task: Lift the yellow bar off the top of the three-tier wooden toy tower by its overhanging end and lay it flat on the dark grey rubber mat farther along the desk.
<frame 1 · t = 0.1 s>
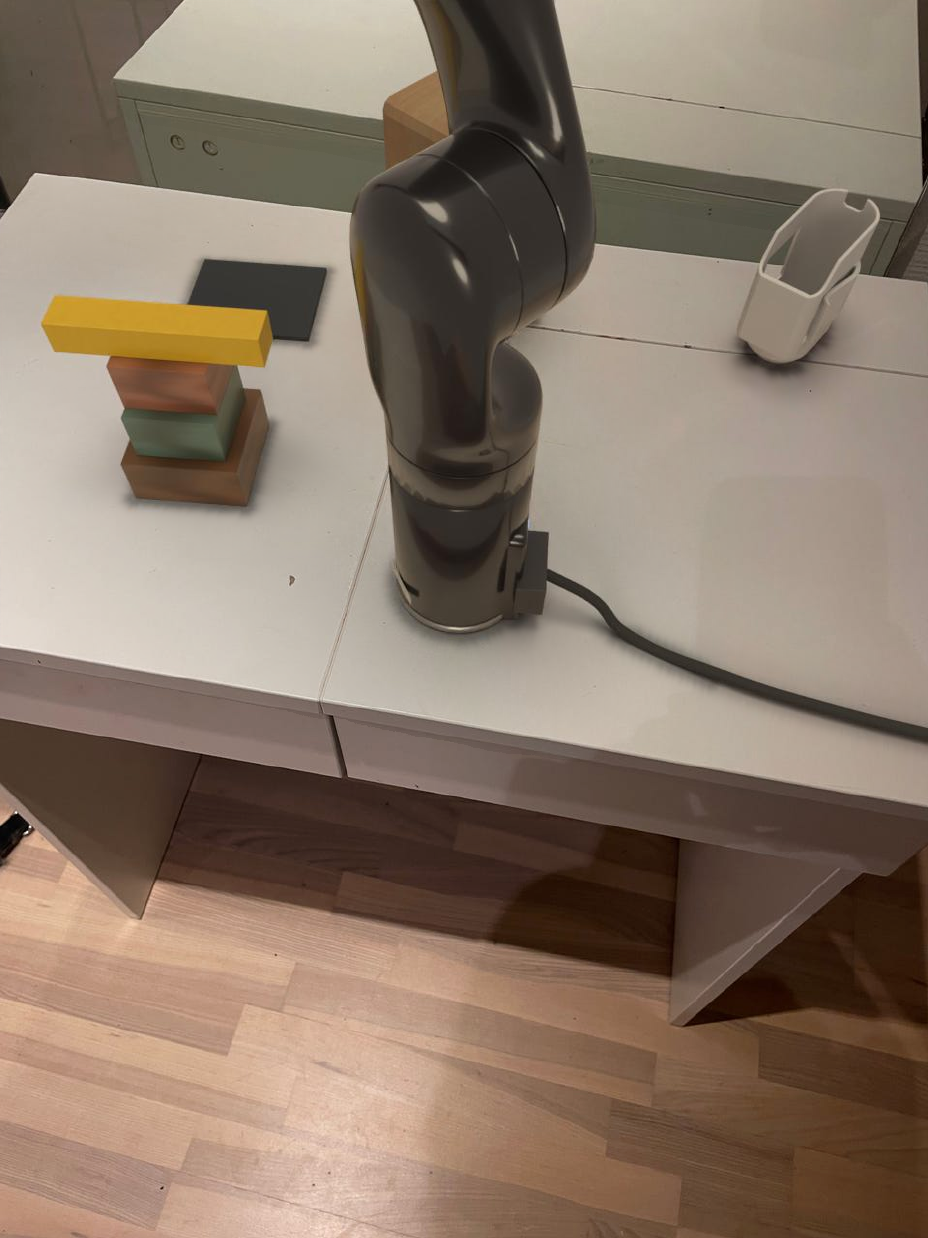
yellow bar: (164, 345, 62), point 12 cm above the table, touching toy tower
toy tower: (204, 459, 72), on the table
rubber mat: (255, 300, 83), on the table
wooden block: (465, 317, 82), on the table
cable organizer: (776, 347, 81), on the table
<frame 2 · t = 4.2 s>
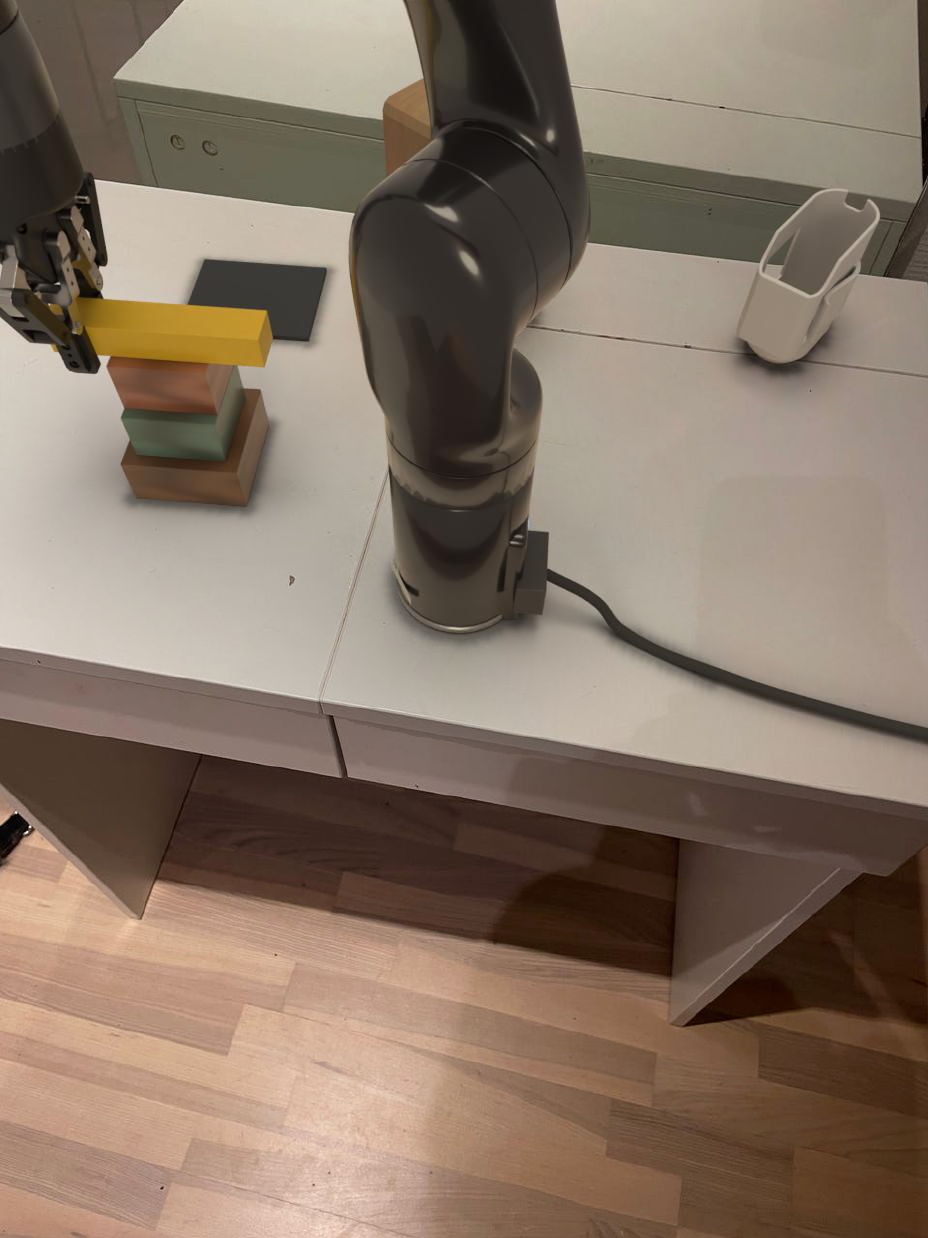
hand: (93, 351, 63), 11 cm above the table, tool pointing down, fingers closed on yellow bar, 3 cm apart
yellow bar: (164, 345, 62), point 12 cm above the table, touching gripper, toy tower
everything else where it was.
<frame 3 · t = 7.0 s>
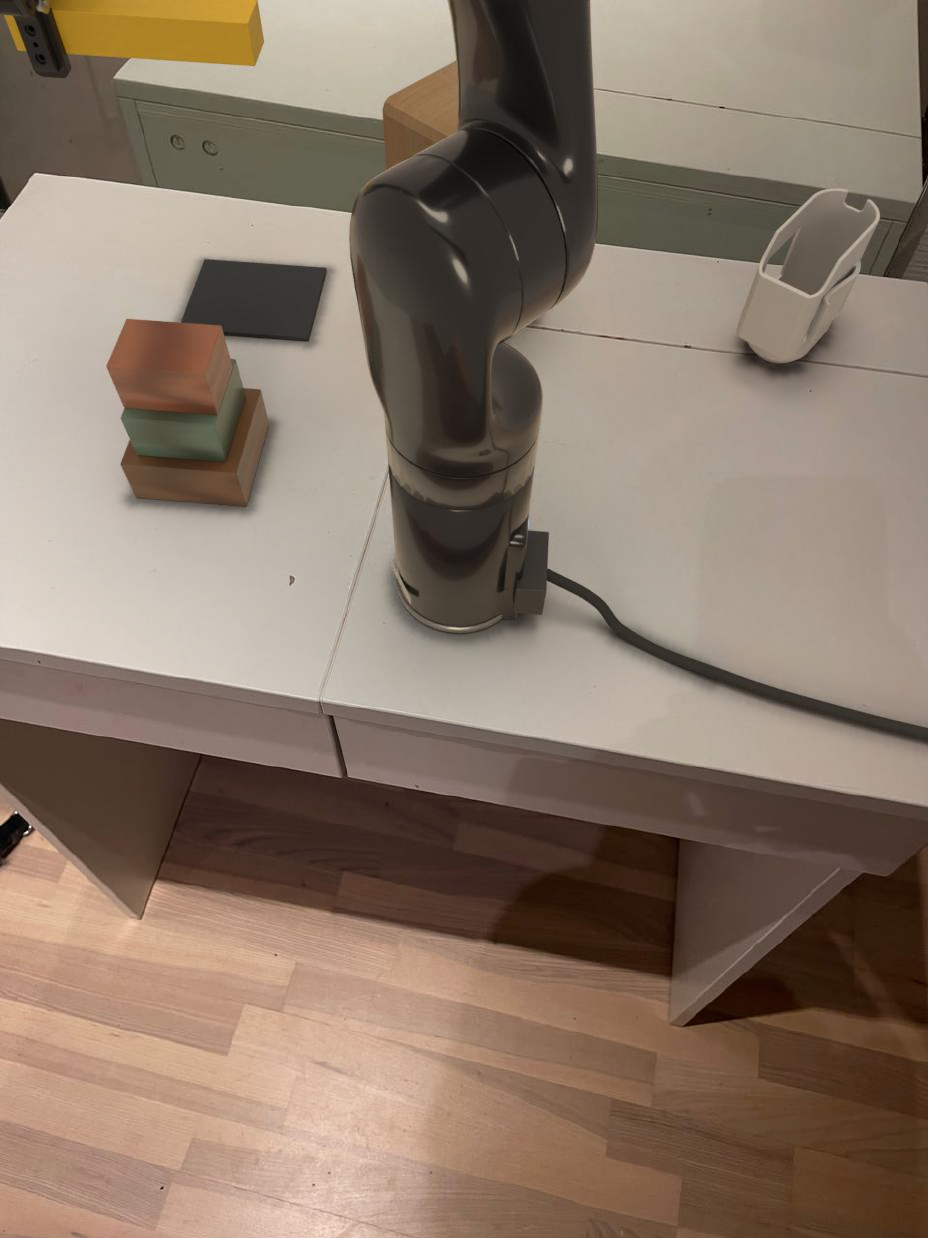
hand: (63, 57, 56), 25 cm above the table, tool pointing down, fingers closed on yellow bar, 3 cm apart
yellow bar: (142, 46, 55), point 26 cm above the table, touching gripper
everything else where it was.
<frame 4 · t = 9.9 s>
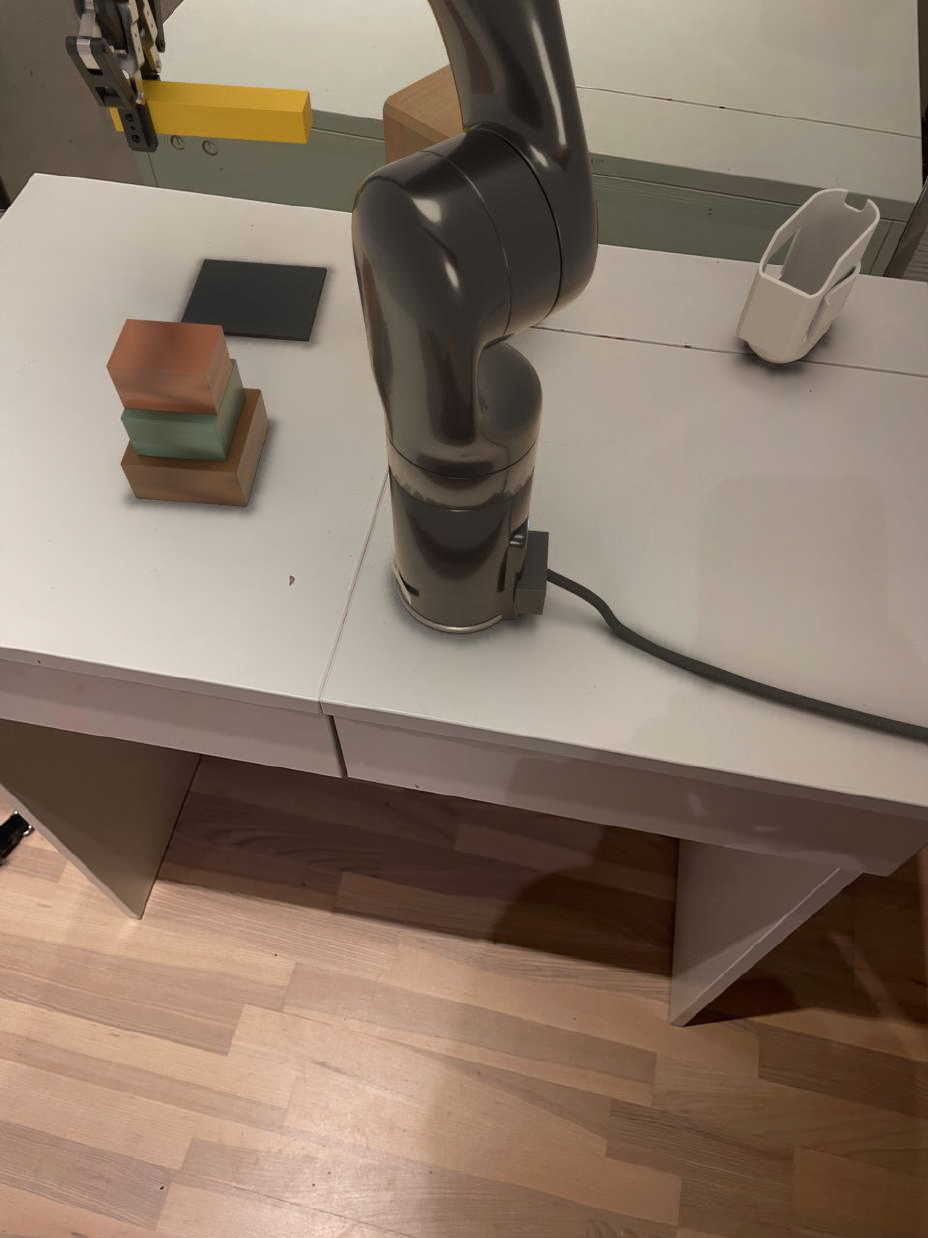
hand: (151, 134, 70), 15 cm above the table, tool pointing down, fingers closed on yellow bar, 3 cm apart
yellow bar: (215, 126, 69), point 16 cm above the table, touching gripper
everything else where it was.
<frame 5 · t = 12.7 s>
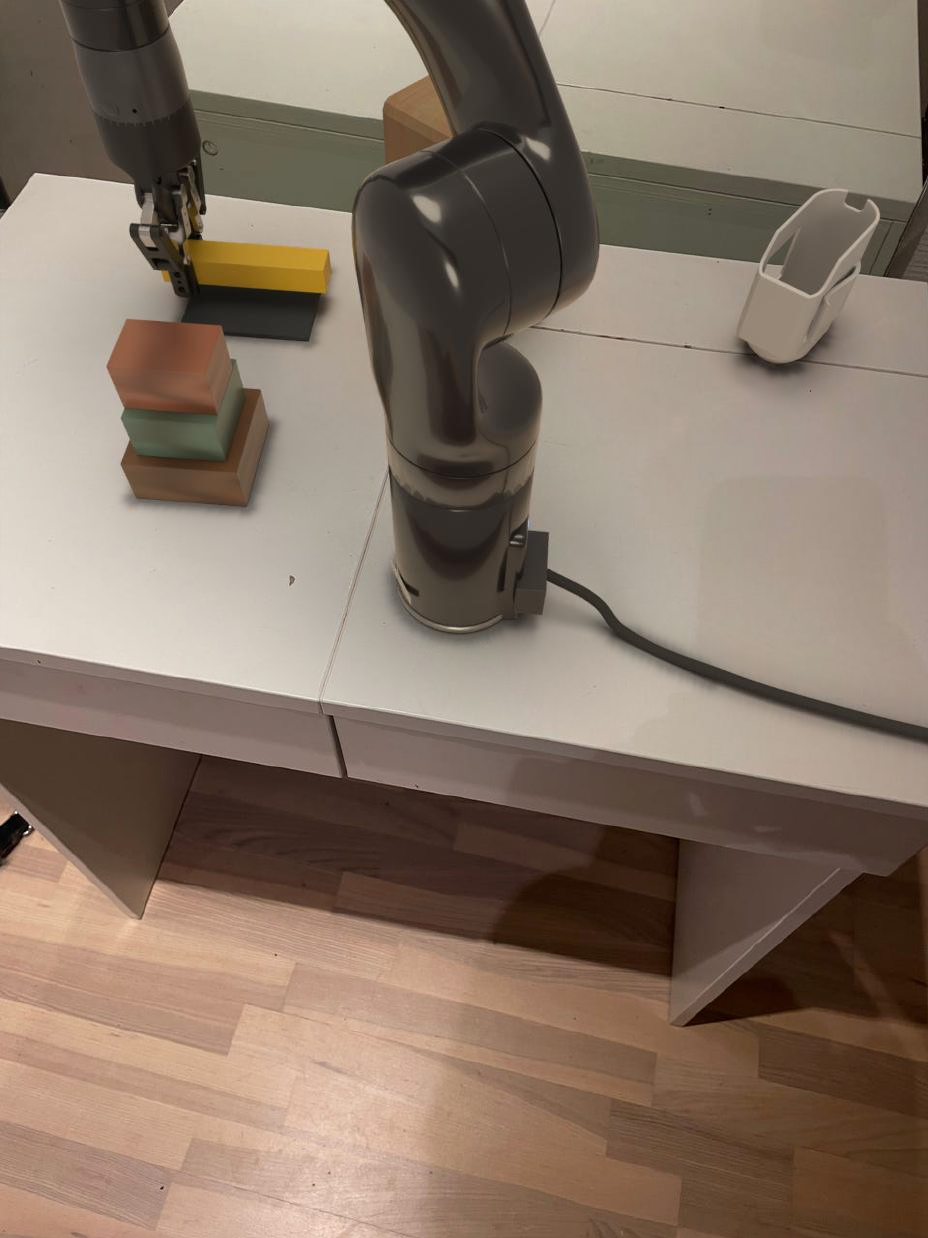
hand: (193, 281, 81), 2 cm above the table, tool pointing down, fingers closed on yellow bar, 3 cm apart
yellow bar: (248, 277, 80), point 3 cm above the table, touching gripper
everything else where it was.
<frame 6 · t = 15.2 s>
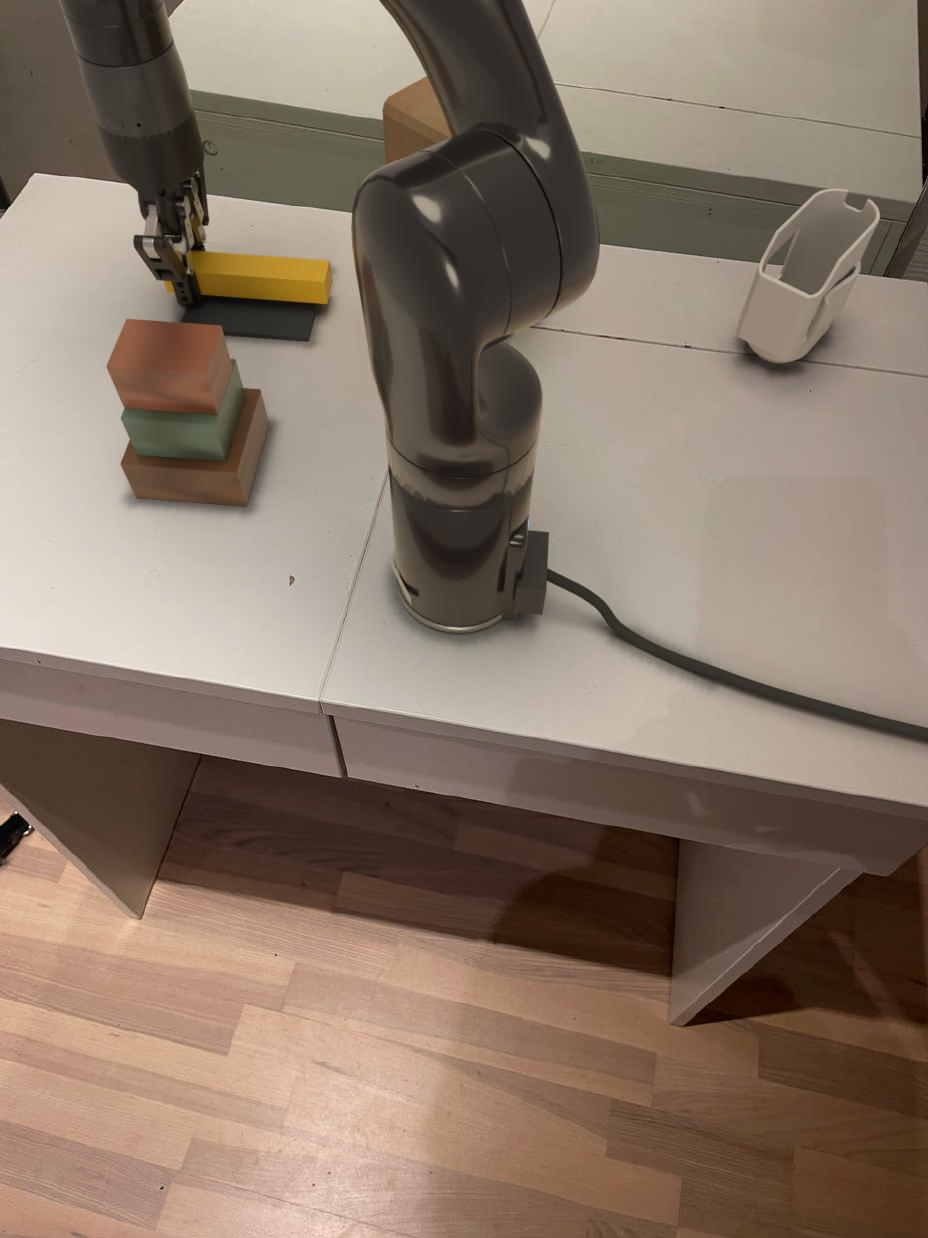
hand: (196, 291, 82), 0 cm above the table, tool pointing down, fingers closed on yellow bar, 3 cm apart
yellow bar: (250, 287, 81), point 1 cm above the table, touching gripper
everything else where it was.
when the fingers open (1 cm above the table, at t = 16.1 s): yellow bar drops 1 cm, resting on rubber mat.
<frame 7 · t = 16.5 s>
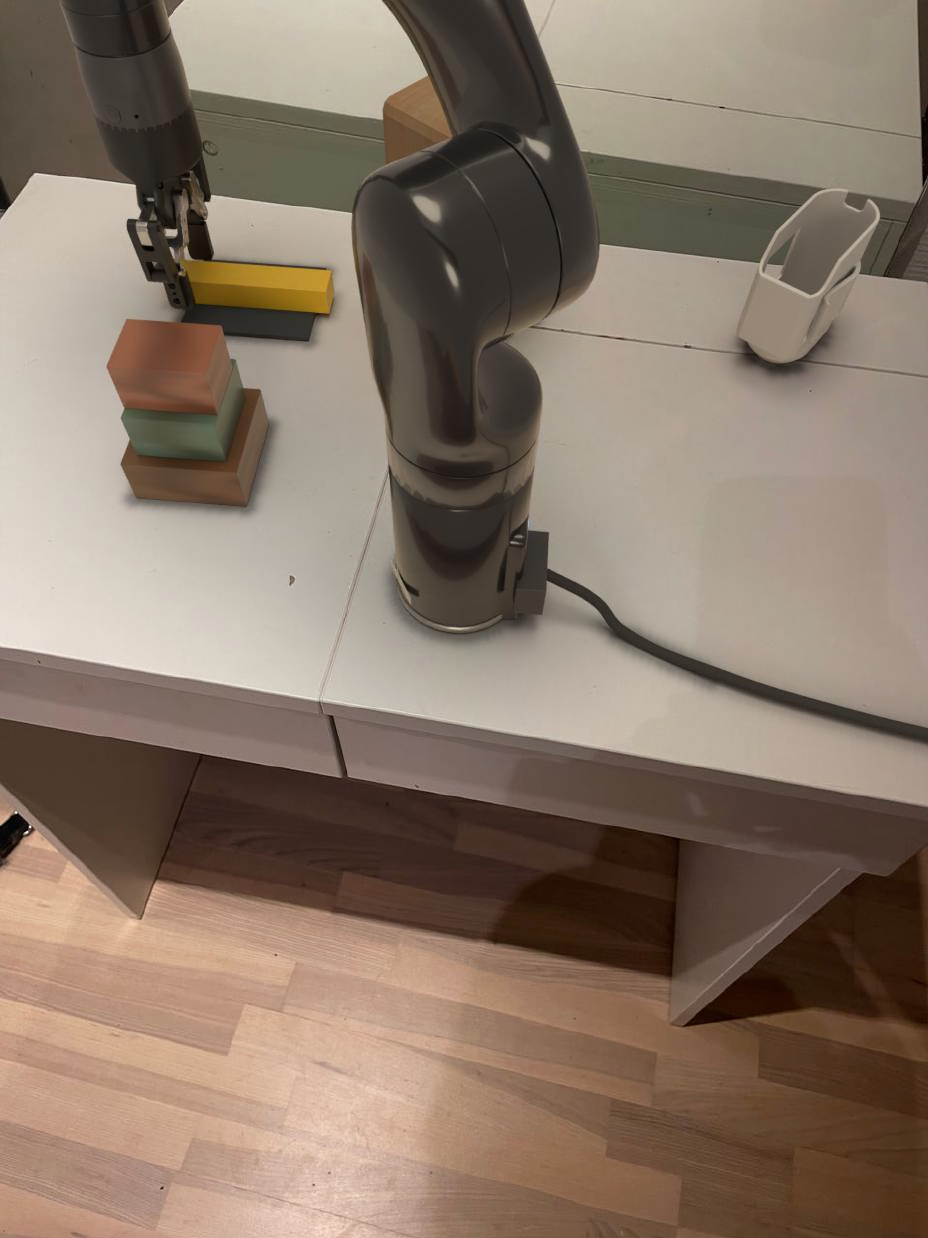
hand: (193, 281, 81), 2 cm above the table, tool pointing down, fingers open, 6 cm apart
yellow bar: (253, 297, 82), resting on rubber mat
everything else where it was.
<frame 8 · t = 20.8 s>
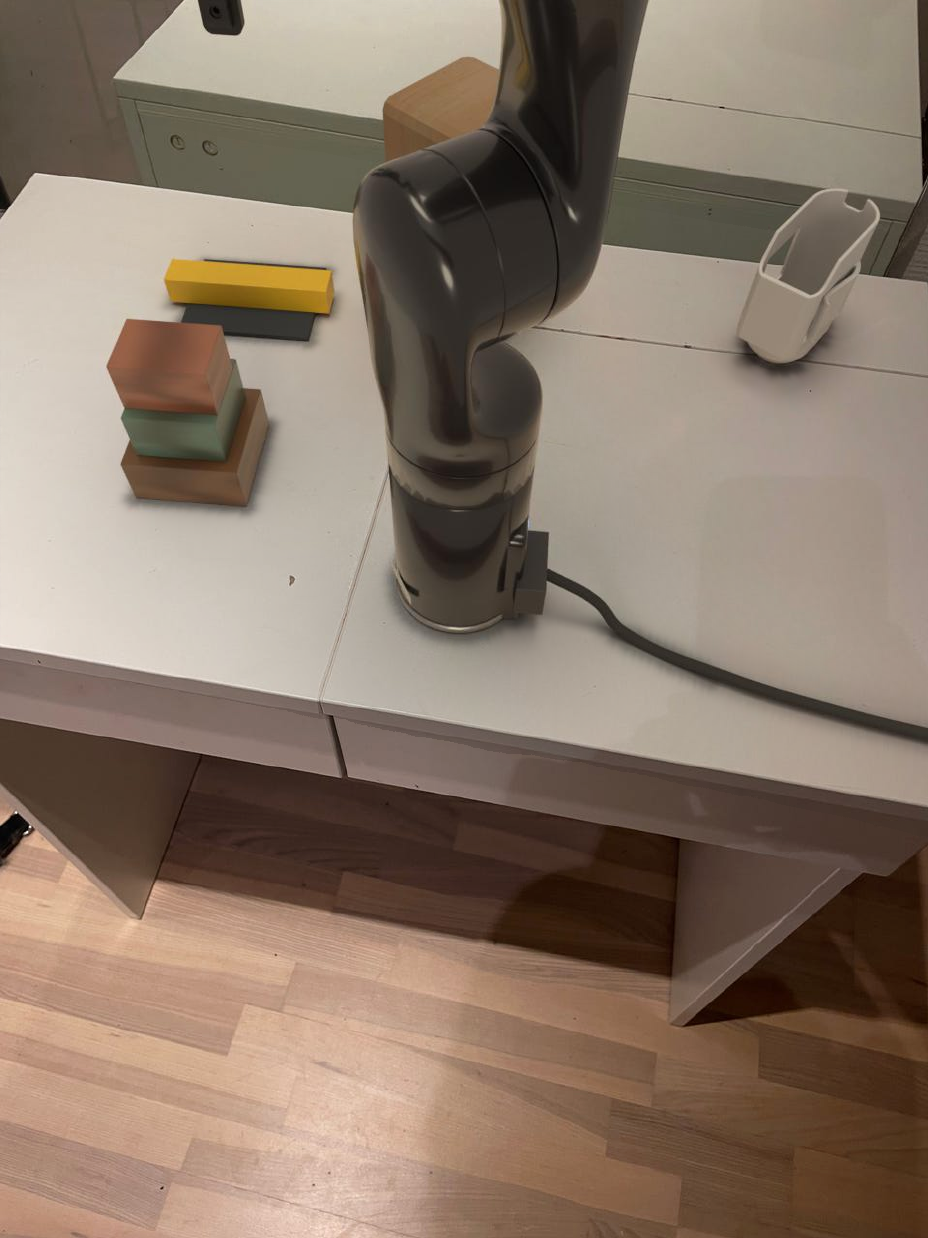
nothing on the table moved.
at the end: yellow bar inside the target area on the rubber mat (0.1 cm from its centre), point 0.4 cm above the rubber mat's base; yellow bar tilted 0°; the gripper is holding nothing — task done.
